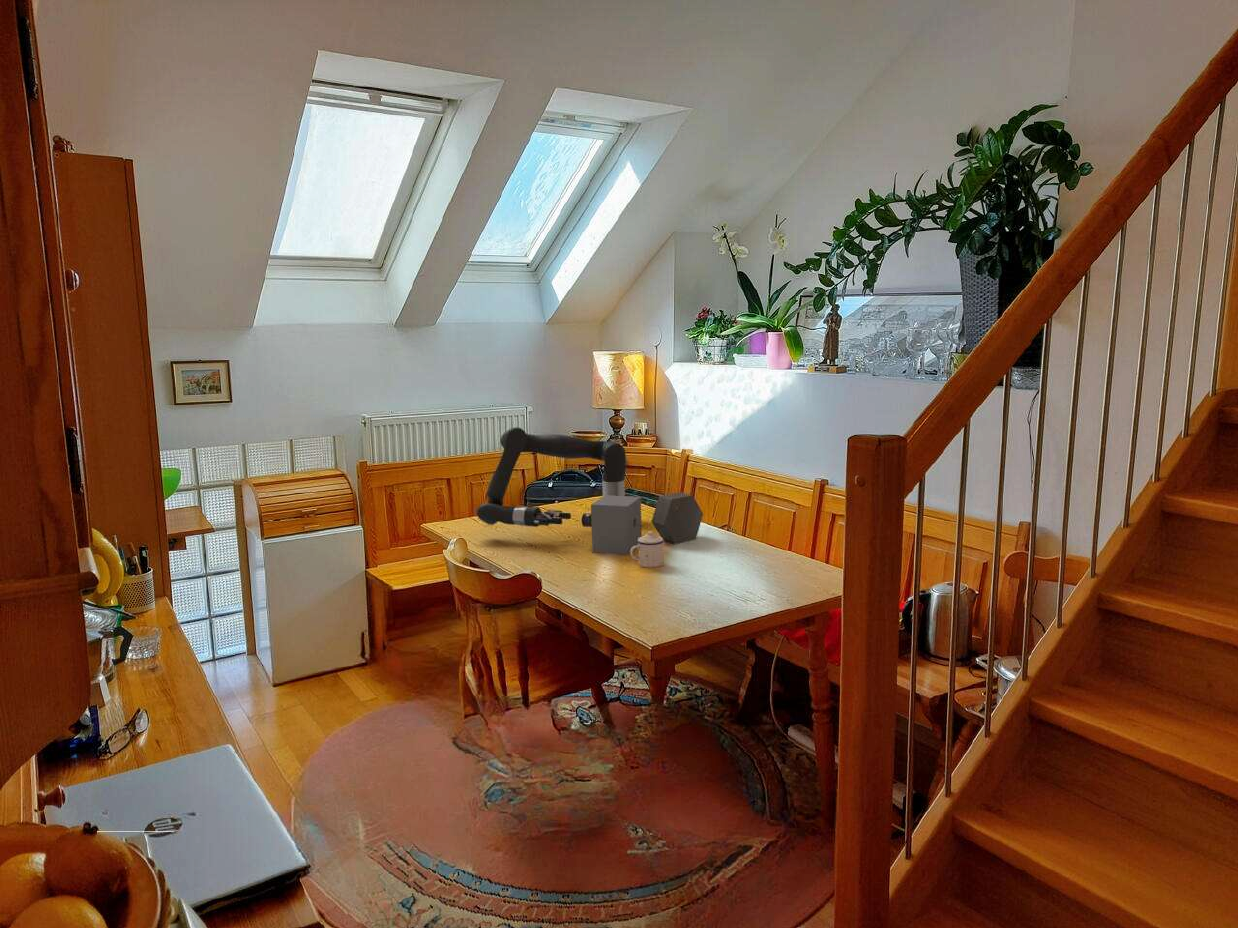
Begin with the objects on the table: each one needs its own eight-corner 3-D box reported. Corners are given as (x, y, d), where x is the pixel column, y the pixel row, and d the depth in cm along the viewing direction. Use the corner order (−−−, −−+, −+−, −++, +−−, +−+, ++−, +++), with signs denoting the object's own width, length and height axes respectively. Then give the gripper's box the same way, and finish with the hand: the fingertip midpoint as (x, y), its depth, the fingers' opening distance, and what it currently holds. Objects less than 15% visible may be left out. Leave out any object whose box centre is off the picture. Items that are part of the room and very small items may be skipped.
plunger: (586, 524, 326) (586, 511, 325) (634, 527, 320) (634, 514, 319) (581, 527, 321) (581, 514, 320) (630, 530, 315) (629, 517, 314)
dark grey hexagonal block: (696, 520, 339) (673, 481, 329) (709, 524, 333) (686, 484, 323) (668, 549, 332) (644, 511, 323) (681, 554, 326) (657, 514, 317)
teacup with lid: (658, 559, 304) (657, 527, 302) (668, 566, 296) (667, 533, 294) (626, 563, 301) (625, 531, 299) (635, 570, 292) (634, 537, 290)
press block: (606, 541, 330) (605, 495, 327) (641, 543, 326) (640, 496, 323) (592, 552, 315) (590, 504, 312) (628, 554, 311) (627, 506, 308)
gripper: (518, 510, 323) (558, 513, 318) (534, 502, 336) (572, 504, 331) (519, 530, 324) (559, 533, 319) (535, 521, 338) (573, 523, 332)
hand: (566, 518), depth 325 cm, fingers open, 8 cm apart
